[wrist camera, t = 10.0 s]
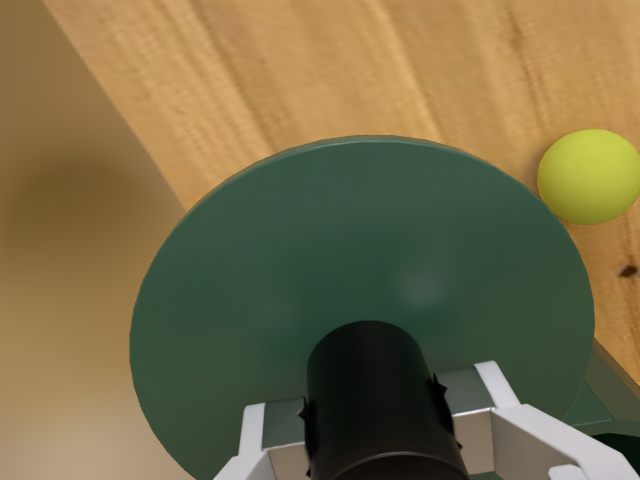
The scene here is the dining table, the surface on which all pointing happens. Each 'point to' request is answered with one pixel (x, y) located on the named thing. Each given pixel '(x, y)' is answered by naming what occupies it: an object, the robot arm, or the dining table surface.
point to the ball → (589, 176)
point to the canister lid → (357, 305)
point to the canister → (608, 406)
